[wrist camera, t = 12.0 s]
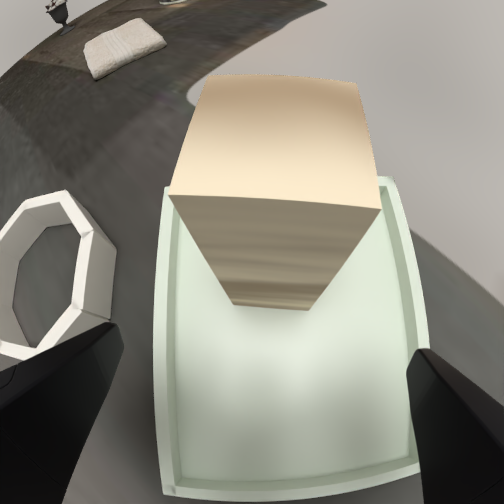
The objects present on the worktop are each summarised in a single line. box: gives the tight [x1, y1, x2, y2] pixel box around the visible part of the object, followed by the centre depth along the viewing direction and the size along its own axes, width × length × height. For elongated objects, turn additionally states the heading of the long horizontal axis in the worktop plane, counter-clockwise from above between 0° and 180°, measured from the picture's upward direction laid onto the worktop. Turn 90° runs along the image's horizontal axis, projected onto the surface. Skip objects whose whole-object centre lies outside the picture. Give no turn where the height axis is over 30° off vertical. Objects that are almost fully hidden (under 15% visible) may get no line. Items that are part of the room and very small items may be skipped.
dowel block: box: [168, 74, 382, 311], centre depth 12 cm, size 4×4×12 cm
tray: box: [153, 176, 430, 502], centre depth 16 cm, size 20×16×2 cm
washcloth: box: [83, 18, 167, 80], centre depth 33 cm, size 12×18×3 cm, turn 31°
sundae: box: [46, 0, 75, 36], centre depth 40 cm, size 7×7×15 cm
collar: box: [0, 190, 117, 360], centre depth 18 cm, size 13×13×4 cm
